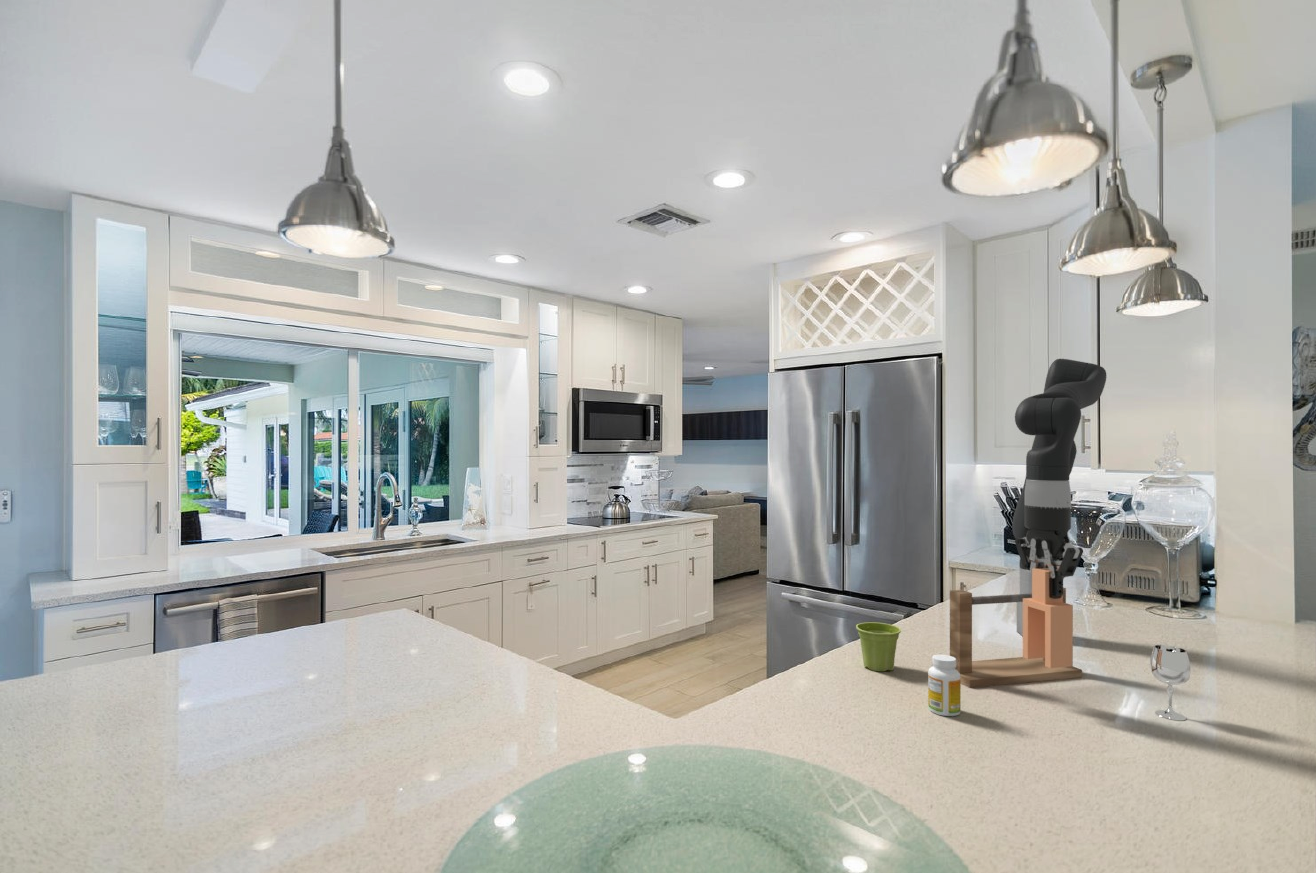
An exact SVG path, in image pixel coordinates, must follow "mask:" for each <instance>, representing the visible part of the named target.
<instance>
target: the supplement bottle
mask: <svg viewBox="0 0 1316 873" xmlns="http://www.w3.org/2000/svg"><path fill="white" fill-rule="evenodd" d="M932 665H933V666H931V667H929V669H928V672H927V674H928V677H927V678H928V680H927V681H928V685H927V687H928V696H927V697H928V698H927V699H928V700H927V701H928V703H927V704H928V706H927V707H928V710H929V711H930V712H932V713H934V714H935V715H939V716H943V717H956V716H959V715H960V714H961V707H962V706H961V678H960V673H959V672H958V671H957V670H956V669H955V668H956V658H954V657H952V656H950V654H949V655H947V654H934V655H932Z"/></svg>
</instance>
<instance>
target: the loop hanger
mask: <svg viewBox="0 0 1316 873" xmlns="http://www.w3.org/2000/svg"><path fill="white" fill-rule="evenodd" d="M1056 571H1057V569H1056ZM1049 578H1051V577H1050V576H1049V569H1048V568H1036V569H1032V598H1023V636H1022V657H1024V658H1026V659H1035V658H1045V666H1046V667H1049V668H1059V667H1070V666H1073V667H1074V665H1073V662H1074V656H1073V655H1074V654H1073V652H1074V651H1073V648H1074V647H1073V646H1074V645H1073V644H1074V635H1073V634H1074V633H1073V632H1074V628H1073V627H1074V611H1073V610H1074V605H1073V604H1069V603H1063V595H1062V597H1061V598H1058V599H1053V598H1050V597H1049Z"/></svg>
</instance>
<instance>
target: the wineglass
mask: <svg viewBox="0 0 1316 873" xmlns="http://www.w3.org/2000/svg"><path fill="white" fill-rule="evenodd" d="M1149 666H1150V671H1151V673H1152V676H1154V677H1155V678H1156V679H1157V680H1159V681H1160V682H1162V683H1164V684H1166V685H1167V687H1166V692H1167V697H1168V706H1167V708H1166V709H1157V710H1154V714H1155V715H1156V716H1159V717H1161V718H1164V719H1167V720H1172V721H1185V720H1187V717H1186V716H1185V715H1183V714H1182V713H1179V712H1176V711H1175V710H1174V709H1173V694H1174V693H1175V692H1174V691H1175V690H1174V687H1173V686H1179V685H1183V684H1186V683H1188V681H1189V679H1190V678H1191V674H1192V673H1191V672H1192V671H1191V670H1192V669H1191V663H1190V658H1189V654H1188V652H1187V650H1186V649H1184V648H1183V647H1182V648H1181V647H1178V646H1173V645H1169V644H1168V645H1167V644H1166V645H1165V644H1155V645H1154V646H1153V648H1152V652H1151V655H1150V661H1149Z"/></svg>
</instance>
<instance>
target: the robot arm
mask: <svg viewBox="0 0 1316 873" xmlns="http://www.w3.org/2000/svg"><path fill="white" fill-rule="evenodd" d="M1106 382H1107V372H1106V369H1105V368H1104V367H1103V366H1102V365H1099V364H1096V363H1091V362H1086V361H1081V360H1072V359H1068V358H1057V359H1055V360H1054V361H1053V362H1052V363H1051V365H1050V366H1049V369H1048V371H1047V374H1046V378H1045V383H1044V388H1043V393H1038V394H1036V395H1035V394H1034V395H1032V396H1028V397H1026V398H1025V399H1023V400H1022V401H1021V402H1020V403H1019V404H1018V406H1017V407H1016V410H1015V414H1014V422H1015V425H1016V428H1018V430H1019V431H1020V432H1021V433H1023V434H1025V435H1027V436H1034V439H1033V442H1032V445H1031V449H1029V450H1028V451H1027V452H1026V456H1025V458H1026V461H1025V478H1024V483H1023V486H1022V490H1021V493H1020V496H1019V499H1018V501H1017V503H1016V508H1015V509H1014V513H1013V517H1012V524H1011V526H1012V528H1011V529H1012V534H1013V537H1014V543H1015V544H1014V545H1015V547H1016V549H1017V553H1018V556H1019V594H1032V569H1036V568H1048V569H1049V576H1050V577H1051V578H1049V597H1050V598H1053V599H1058V598H1061V597H1062V595H1063V588H1064V579H1065V578H1068V577H1073V576H1074V574H1075V572H1076V570H1077V568H1078V565H1079V563H1080V560H1081V558H1082V556H1083V554H1084V550H1083V548H1082V547H1080V546H1079V547H1076V546H1074V545H1073V544H1072V543H1070V542H1071V540H1070V538H1069V536H1068V533H1069V531H1070V530H1071V528H1072V492H1071V491H1072V490H1071V485H1070V475H1071V474H1072V471H1073V467H1074V465H1075V464H1074V463H1075V460H1076V457H1077V445H1076V442H1075V437H1076V434H1077V432H1078V429H1079V426H1080V423H1081V419H1082V409H1086V408H1087V407H1090V406H1093V405H1094V404H1096V403H1097V402H1098V401H1099V399H1100V397H1101V396H1102V394H1103V391H1104V388H1105V385H1106ZM1056 569H1057V571H1056ZM1016 633H1019V635H1020V636H1022V637H1023V602H1016Z"/></svg>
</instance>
